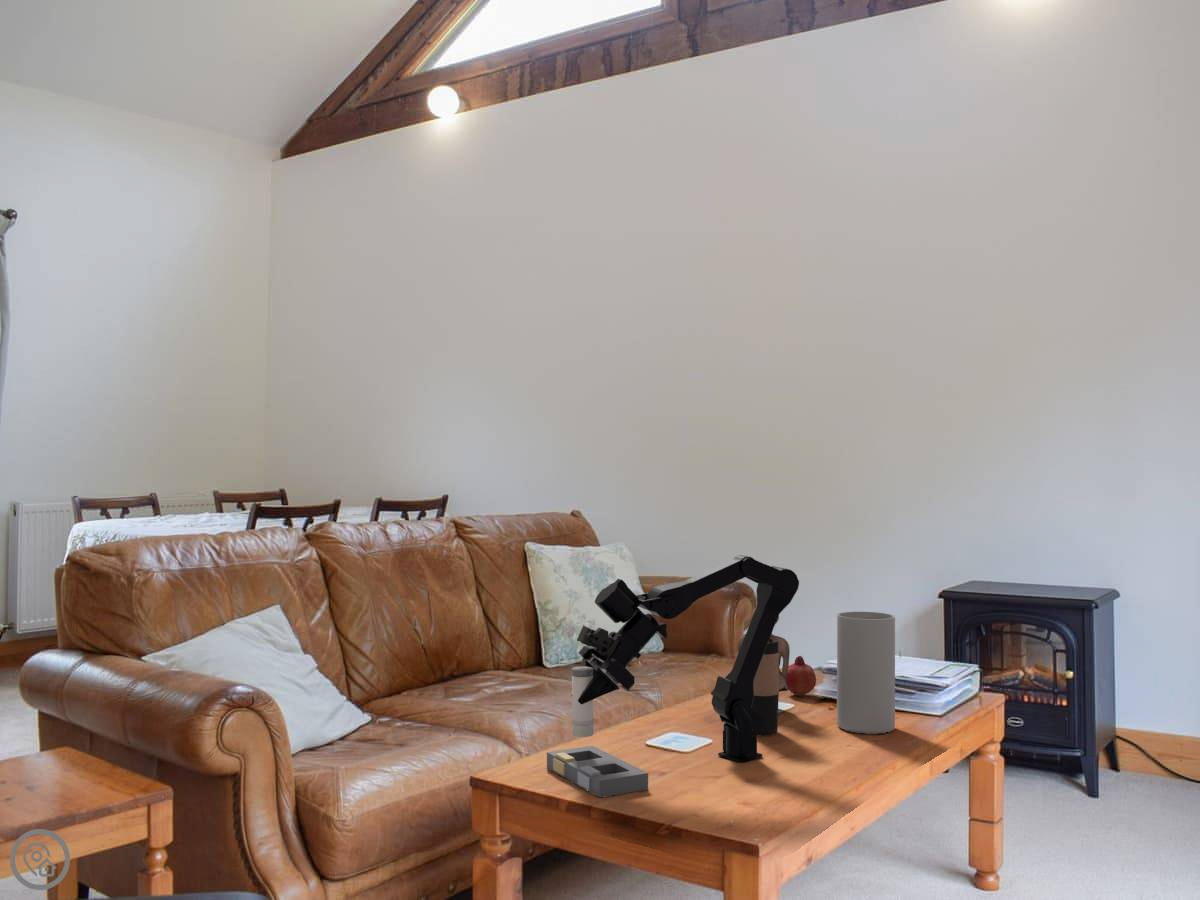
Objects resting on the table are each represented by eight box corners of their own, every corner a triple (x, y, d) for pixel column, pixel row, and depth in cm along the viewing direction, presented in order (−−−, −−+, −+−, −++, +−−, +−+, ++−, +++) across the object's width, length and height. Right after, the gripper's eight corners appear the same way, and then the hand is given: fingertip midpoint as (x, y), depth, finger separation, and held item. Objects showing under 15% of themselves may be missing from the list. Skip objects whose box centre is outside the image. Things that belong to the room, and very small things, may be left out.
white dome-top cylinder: (597, 733, 205) (597, 667, 205) (586, 738, 201) (585, 671, 201) (579, 730, 207) (579, 665, 207) (568, 735, 203) (567, 669, 203)
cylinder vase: (874, 719, 245) (874, 610, 246) (906, 732, 234) (906, 618, 234) (826, 723, 241) (826, 612, 242) (856, 737, 230) (856, 620, 230)
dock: (648, 789, 192) (648, 770, 192) (597, 798, 187) (597, 778, 187) (592, 761, 210) (592, 743, 210) (545, 768, 205) (545, 749, 205)
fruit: (819, 699, 266) (819, 659, 267) (786, 699, 266) (786, 659, 266) (812, 692, 275) (812, 653, 275) (780, 692, 274) (780, 653, 274)
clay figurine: (730, 711, 253) (730, 605, 253) (743, 702, 262) (743, 600, 262) (784, 717, 247) (784, 609, 248) (795, 708, 256) (795, 603, 257)
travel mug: (739, 734, 232) (739, 641, 232) (748, 726, 239) (748, 636, 239) (774, 737, 229) (774, 644, 229) (782, 729, 236) (782, 638, 236)
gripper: (588, 604, 214) (535, 663, 211) (618, 617, 196) (560, 681, 193) (625, 642, 217) (573, 700, 213) (658, 658, 199) (602, 722, 195)
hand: (576, 700), depth 204 cm, fingers closed on white dome-top cylinder, 4 cm apart
